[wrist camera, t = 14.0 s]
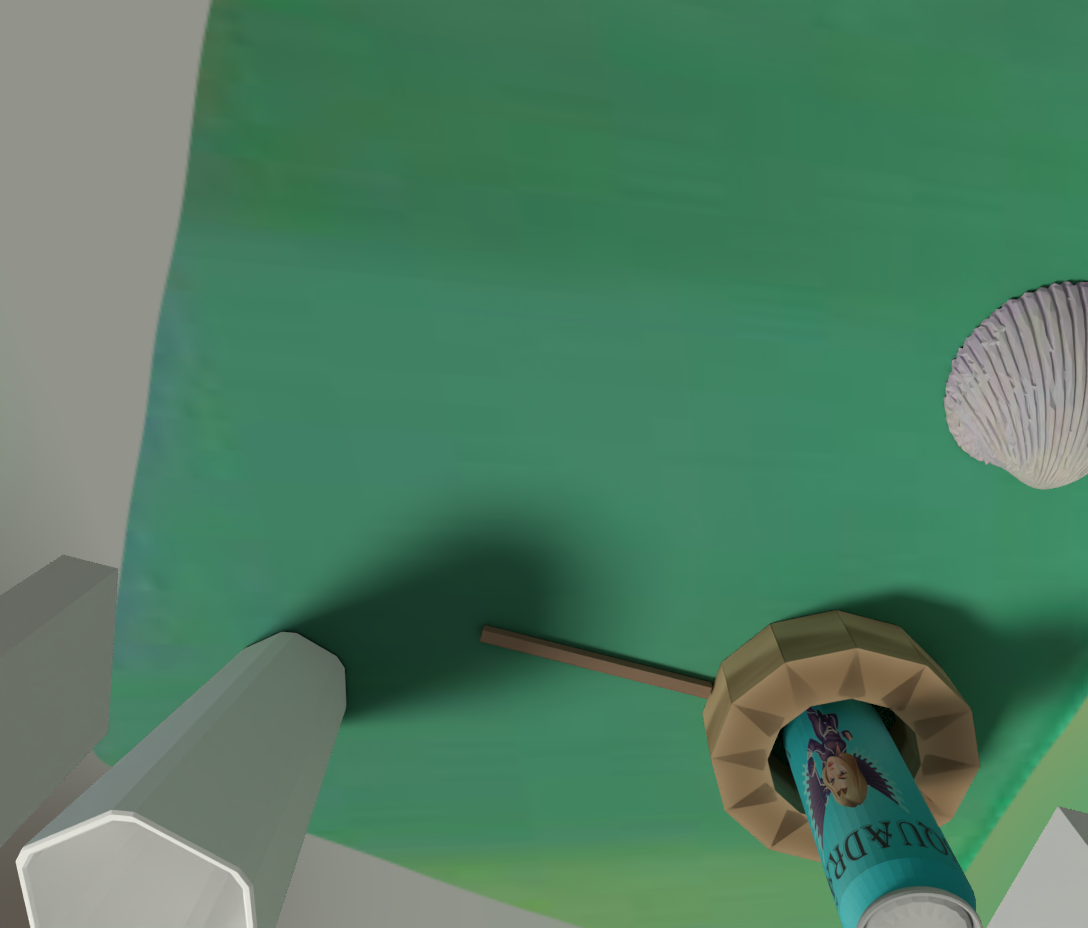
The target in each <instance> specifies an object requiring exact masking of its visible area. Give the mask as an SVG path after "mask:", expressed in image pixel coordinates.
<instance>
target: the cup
mask: <svg viewBox="0 0 1088 928" xmlns="http://www.w3.org/2000/svg"><path fill="white" fill-rule="evenodd" d="M345 710H346V686H345V668H344V666H343V665H342V663H341V662H340V660H339V659H338V657H337V656H335V655H334V654H332V653H330V652H329V651H327V650H325V649H323V648H322V647H320V646H318V645H316V644H315V643H313V642H311V641H309V640H308V639H306V638H304V637H303V636H301V635H299V634H297V633H291V632H280V633H278V634H275V635H273V636H271V637H269V638H267V639H264V640H262V641H260V642H258V643H256V644H253V645H251V646H249V647H247V648H245V649H243V650H242V651H241V652H240V653H239V654H238V655H237V656H236V657H234V658H233V659H232V660H231V661H230V662H229V663H228V664H227V665H226V666H224V667H223V668H222V669H221V670H220V671H219V672H218V673H217V674H216V675H214V676H213V677H212V678H211V679H210V680H209V681H208V682H207V683H205V684H204V685H203V686H202V687H201V688H200V689H199V690H198V691H197V692H195V693H194V694H193V695H192V696H191V697H190V698H189V699H188V700H187V701H185V702H184V703H183V704H182V705H181V706H180V707H179V708H178V709H176V710H175V711H174V712H173V713H172V714H171V715H170V716H169V717H168V718H166V719H165V720H164V721H163V722H162V723H161V724H160V725H159V726H158V727H156V728H155V729H154V730H153V731H152V732H151V733H150V734H149V735H147V736H146V737H145V738H144V739H143V740H142V741H141V742H140V743H139V744H137V745H136V746H135V747H134V748H133V749H132V750H131V751H130V752H129V753H127V754H126V755H125V756H124V757H123V758H122V759H121V760H120V761H118V762H117V763H116V764H115V765H114V766H113V767H112V768H111V769H110V770H108V771H107V772H106V773H105V774H104V775H103V776H102V777H101V778H100V779H98V780H97V781H96V782H95V783H94V784H93V785H92V786H91V787H90V788H88V789H87V790H86V791H85V792H84V793H83V794H82V795H81V796H79V797H78V798H77V799H76V800H75V801H74V802H73V803H72V804H70V805H69V806H68V807H67V808H66V809H65V810H64V811H63V812H62V813H60V814H59V815H58V816H57V817H56V818H55V819H54V820H53V821H52V822H50V823H49V824H48V825H47V826H46V827H45V828H44V829H43V830H41V831H40V832H39V833H38V834H37V835H36V836H35V837H34V838H33V839H31V840H30V841H29V842H28V843H27V844H26V845H25V846H24V847H23V848H22V850H21V852H20V854H19V856H18V858H17V860H16V864H17V869H18V874H19V878H20V883H21V887H22V892H23V896H24V900H25V904H26V909H27V914H28V918H29V923H30V927H31V928H276V925H277V921H278V918H279V915H280V912H281V909H282V906H283V903H284V900H285V897H286V893H287V890H288V887H289V884H290V881H291V878H292V875H293V872H294V868H295V865H296V862H297V859H298V856H299V853H300V850H301V847H302V844H303V840H304V837H305V834H306V831H307V828H308V825H309V822H310V819H311V816H312V812H313V809H314V806H315V803H316V800H317V797H318V794H319V791H320V788H321V784H322V781H323V778H324V775H325V772H326V769H327V766H328V763H329V759H330V756H331V753H332V750H333V747H334V744H335V741H336V738H337V735H338V731H339V728H340V725H341V722H342V719H343V716H344V713H345Z"/></svg>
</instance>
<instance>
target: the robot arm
mask: <svg viewBox="0 0 1088 928" xmlns="http://www.w3.org/2000/svg"><path fill="white" fill-rule="evenodd" d="M117 581H118V569H117V568H114V567H110V566H106V565H102V564H98V563H94V562H90V561H86V560H82V559H78V558H74V557H70V556H66V555H62V556H60V557H59V558H57V559H56V560H54V561H53V562H51V563H50V564H48V565H46V566H45V567H43V568H42V569H40V570H39V571H38V572H36V573H34V574H33V575H31V576H30V577H28V578H26V579H25V580H23V581H22V582H20V583H19V584H17V585H16V586H14V587H13V588H11V589H10V590H8V591H7V592H5V593H3V594H2V595H0V847H1V846H2V845H3V844H4V843H5V842H6V841H7V840H8V839H9V837H10V836H11V835H12V834H13V833H14V832H15V831H16V830H17V829H18V828H19V827H20V826H21V825H22V824H23V823H24V822H25V820H26V819H27V818H28V817H29V816H30V815H31V814H32V813H33V812H34V811H35V810H36V809H37V808H38V806H40V804H41V803H42V802H43V801H44V800H45V799H46V798H47V797H48V796H49V795H50V794H51V793H52V792H53V791H54V789H55V788H56V787H57V786H58V785H59V784H60V783H61V782H62V781H63V780H64V779H65V778H66V777H67V776H68V775H69V774H70V772H71V771H72V770H73V769H74V768H75V767H76V766H77V765H78V764H79V763H80V762H81V761H82V759H84V757H85V756H86V755H87V754H88V753H89V752H90V751H91V750H92V749H93V748H94V747H95V746H96V745H97V744H98V743H99V742H100V741H101V739H102V738H103V737H104V736H105V735H106V734H107V733H108V724H109V708H110V692H111V676H112V660H113V644H114V629H115V613H116V597H117ZM987 928H1088V814H1087V813H1083V812H1079V811H1075V810H1071V809H1067V808H1063V807H1059V806H1058V807H1057V809H1056V811H1055V812H1054V814H1053V816H1052V817H1051V819H1050V821H1049V822H1048V824H1047V826H1046V828H1045V829H1044V831H1043V832H1042V834H1041V836H1040V838H1039V839H1038V841H1037V843H1036V845H1035V846H1034V848H1033V850H1032V852H1031V853H1030V855H1029V856H1028V858H1027V860H1026V862H1025V863H1024V865H1023V867H1022V868H1021V870H1020V872H1019V873H1018V875H1017V877H1016V879H1015V880H1014V882H1013V884H1012V885H1011V887H1010V889H1009V890H1008V892H1007V894H1006V896H1005V897H1004V899H1003V901H1002V902H1001V904H1000V906H999V908H998V909H997V911H996V913H995V914H994V916H993V918H992V919H991V921H990V923H989V925H988V926H987Z"/></svg>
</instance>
